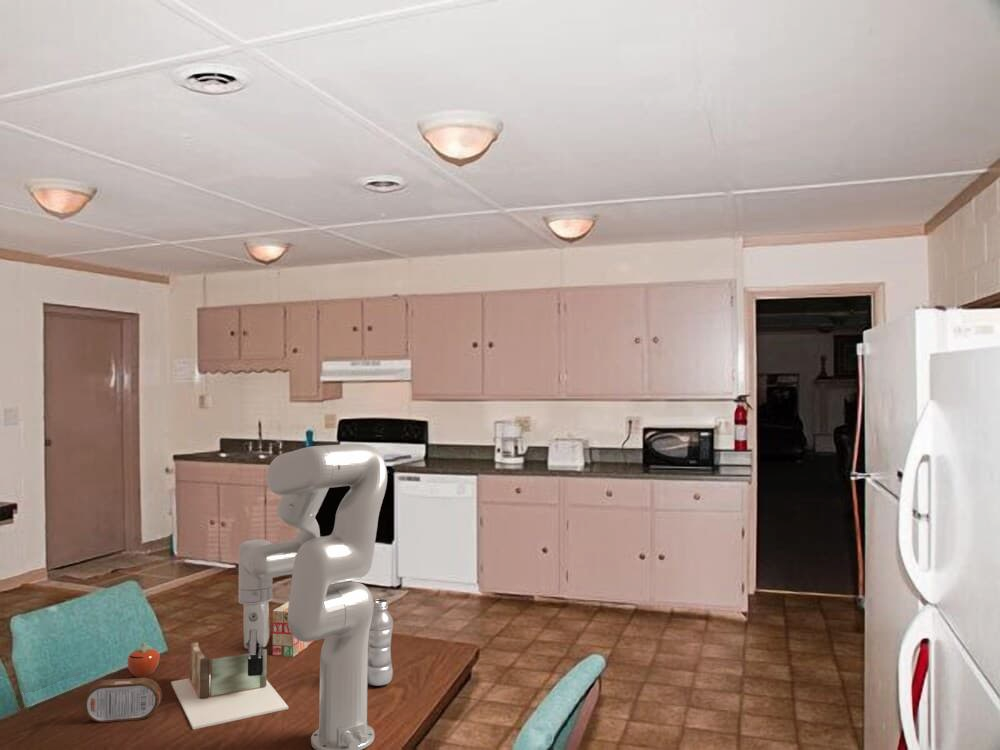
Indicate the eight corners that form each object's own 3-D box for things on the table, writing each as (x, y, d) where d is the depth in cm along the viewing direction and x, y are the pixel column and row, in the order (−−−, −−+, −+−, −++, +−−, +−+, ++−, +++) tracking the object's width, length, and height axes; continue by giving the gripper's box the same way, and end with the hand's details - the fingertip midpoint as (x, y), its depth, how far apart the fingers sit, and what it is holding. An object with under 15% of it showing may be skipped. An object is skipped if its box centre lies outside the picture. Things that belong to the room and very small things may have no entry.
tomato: (119, 678, 183) (120, 645, 184) (141, 667, 191) (141, 636, 191) (145, 681, 182) (146, 648, 182) (166, 670, 189) (166, 638, 189)
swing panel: (211, 696, 171) (212, 659, 171) (210, 693, 173) (210, 657, 173) (267, 686, 177) (267, 650, 178) (265, 683, 179) (265, 648, 179)
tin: (161, 713, 164) (162, 674, 164) (158, 719, 161) (159, 680, 161) (86, 719, 160) (87, 680, 161) (81, 726, 157) (82, 685, 158)
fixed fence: (209, 697, 171) (210, 660, 171) (200, 699, 170) (201, 661, 170) (197, 676, 183) (198, 641, 184) (188, 678, 182) (189, 643, 183)
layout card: (288, 708, 166) (288, 706, 166) (192, 729, 156) (192, 726, 156) (255, 668, 191) (255, 665, 191) (171, 683, 180) (171, 681, 180)
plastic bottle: (359, 686, 180) (360, 602, 180) (377, 676, 186) (377, 596, 186) (381, 691, 177) (382, 606, 177) (398, 681, 183) (399, 599, 183)
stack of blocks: (306, 631, 221) (307, 589, 222) (326, 632, 220) (327, 590, 221) (271, 656, 200) (272, 609, 201) (293, 657, 199) (294, 611, 200)
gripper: (269, 601, 167) (269, 684, 166) (275, 586, 182) (275, 662, 181) (234, 603, 166) (233, 687, 165) (242, 587, 180) (242, 665, 179)
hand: (255, 674), depth 173 cm, fingers closed
